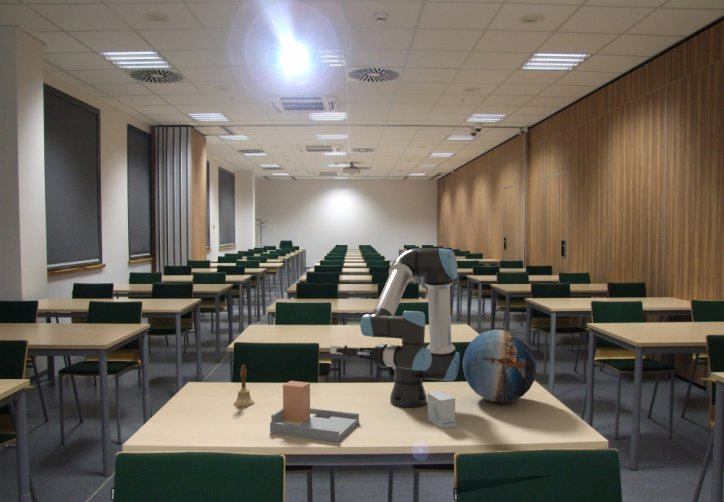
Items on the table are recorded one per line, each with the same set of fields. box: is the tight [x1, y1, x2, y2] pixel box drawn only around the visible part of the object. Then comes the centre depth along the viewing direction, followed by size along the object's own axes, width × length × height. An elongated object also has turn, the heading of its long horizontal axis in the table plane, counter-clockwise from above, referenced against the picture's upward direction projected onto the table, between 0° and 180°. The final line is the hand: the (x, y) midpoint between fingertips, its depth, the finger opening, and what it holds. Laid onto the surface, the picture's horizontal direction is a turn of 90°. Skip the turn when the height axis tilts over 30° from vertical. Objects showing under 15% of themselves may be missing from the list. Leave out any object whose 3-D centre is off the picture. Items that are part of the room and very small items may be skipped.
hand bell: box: [233, 364, 255, 408], centre depth 227 cm, size 8×8×16 cm
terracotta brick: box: [282, 380, 311, 423], centre depth 203 cm, size 8×6×13 cm
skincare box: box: [426, 390, 456, 429], centre depth 204 cm, size 10×6×10 cm, turn 21°
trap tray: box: [269, 407, 360, 443], centre depth 199 cm, size 26×20×6 cm
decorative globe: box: [462, 329, 537, 404], centre depth 231 cm, size 30×30×30 cm
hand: (331, 349), depth 202 cm, fingers closed
